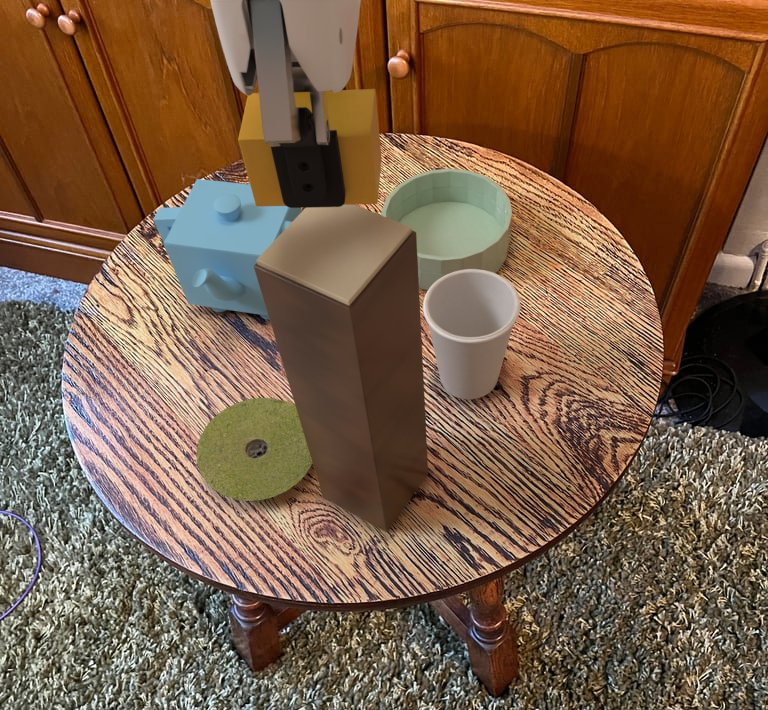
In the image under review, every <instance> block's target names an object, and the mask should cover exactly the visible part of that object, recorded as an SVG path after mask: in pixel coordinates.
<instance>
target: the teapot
mask: <svg viewBox="0 0 768 710" xmlns="http://www.w3.org/2000/svg"><path fill="white" fill-rule="evenodd" d="M302 211H303V210H302V208H289V207H287V206H256V205H255V201H254V197H253V193H252V190H251V186H250V182H249V181H248V183H239V182H229V181H221V180H211V179H201V178H198V179H197V178H196V180H195V182H194V184H193V186H192V188H191V190H190V191H189V193H188V195H187V197H186V198H185V201H184V203H183V204H182V206H177V207H176V206H171V207H170V206H169V207H159V208H158V210H157V211H156V213H155V214H154V215H155V216H154V217H153V218H152V219H153V220H152V221H153V223H154V226H155V228H156V230H157V232H158V234H159V236H160V238H161V241H162V243H163V246H164V250H165V251H166V254H167V256H168V259H169V261H170V263H171V265H172V269H173V270H174V273H175V275H176V277H177V280H178V283H179V285H180V287H181V290H182V292H183V294H184V296H185V299H186V301H187V303H188V305H192V306H200V307H205V308H210V309H211V311H213V312H216V313H223V312H226V311H234V312H240V313H246V314H247V313H248V314H254V315H259V316H260V317H261V319H264V320H270V319H269V316H268V313H267V310H266V306H265V303H264V300H263V296H262V293H261V290H260V286H259V283H258V280H257V276H256V273H255V270H254V265H255V264H256V263H257V259H258V258H259V257H260V255H261V254H262V253H263V252H264V251H265V250H266V249H267V248H268V247H269V246H270V245H271V244H272V243H273V242H274V241H275V240H276V239H277V238H278V236H279V235H280V234H281V233H282V232H283V231H284V230H285V229H286V228H287V227H288V226H289V225H290V224H291V223H292V222H293V221H294V220H295V219H296V217H297V216H298V215H299V214H300V213H301V212H302Z"/></svg>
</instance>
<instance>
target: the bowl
mask: <svg viewBox="0 0 768 710" xmlns="http://www.w3.org/2000/svg"><path fill="white" fill-rule="evenodd" d="M380 215H382V216H384V217H387V218H389V219H392V220H394V221H397V222H399V223H402V224H404V225H407V226H409V227H411V228H412V231H415V232H416V237H417V257H418V277H419V289H421V290H424V291H428V290H429V288H430V287H431V286H432V285H433V284H434V283H435V282H436V281H437V280H439V279H440V278H442V277H443V276H445V275H447V274H449V273H452V272H455V271H459V270H465V269H480V270H486V271H490V272H493V273H495V274H497V272H499V270H501V268H502V266H503V265H504V264H505V261H506V259H507V257H508V254H509V250H510V249H509V248H510V243H511V235H512V223H513V208H512V203H511V199H510V197H509V195H508V194H507V193H506V192H505V190H504V189H503V187H502V186H501V185H500V184H498V183H497V182H495V181H494V180H493V179H491V178H490V177H488V176H487V175H483V174H481V173H478V172H475V171H472V170H469V169H468V170H467V169H461V168H460V169H459V168H452V167H451V168H450V167H449V168H440V169H430V170H427V171H424V172H422V173H418V174H415V175H413V176H411V177H409V178H408V179H406V180H404V181H403V182H401V183H400V184H397V185H396V187H395V188H393V190H392V191H391V192H390V193H389V195H388V196H387V197H386V199H385V201H384V204H383V206H382V209H381V213H380Z"/></svg>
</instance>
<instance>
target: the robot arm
mask: <svg viewBox="0 0 768 710" xmlns="http://www.w3.org/2000/svg"><path fill="white" fill-rule="evenodd" d="M209 1H210V5H211V10H212V14H213V18H214V23H215V26H216V28H217V29H216V30H217V34H218V38H219V42H220V44H221V48H222V52H223V55H224V58H225V61H226V65H227V67H228V71H229V74H230V77H231V78H232V82H233V83H234V86H236V88H237V89H238V91H240V92H242V93H243V94H244V95H245V96H247V97H248V96H249V95H251V94H252V93H254V91H255V87H256V83H257V88H258V89H257V90H258V93H259V99H260V109H261V119H262V129H263V136H264V141H265V143H266V144H270V146H271V150H272V155H273V159H274V164H275V168H276V172H277V177H278V181H279V185H280V190H281V194H282V199H283V202H284V204H285V205H286V206H287V207H289V208H301V209H305V208H312V207H341V206H343V205H344V203H345V196H346V193H345V186H344V179H343V171H342V164H341V157H340V150H339V143H338V136H337V130H330V125H329V117H328V108H327V100H326V92H325V91H332V92H333V93H338V92H340V91H341V90H347V84H348V83H349V81H350V79H351V76H352V71H353V65H354V59H355V51H356V45H357V43H356V42H357V37H358V29H359V28H358V27H359V21H360V20H359V19H360V13H361V11H360V10H361V3H362V0H209ZM294 92H310V99H311V107H312V112H311V111H310V110H309V109H308V108H307V107H296V105H295V99H294Z"/></svg>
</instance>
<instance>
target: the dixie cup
mask: <svg viewBox="0 0 768 710" xmlns="http://www.w3.org/2000/svg"><path fill="white" fill-rule="evenodd" d="M422 312H423V316H424V319H425V321H426V323H427V325H428V328H429V333H430V337H431V341H432V347H433V352H434V356H435V361H436V365H437V370H438V375H439V379H440V383H441V385H442V388H444V390H445V391H446V392H447V393H448V394H449V395H451V396H453V397H455V398H457V399H461V400H477V399H480V398H483V397H485V396H486V395H487V396H488V394H489V393H491V392H492V391H493V390H494V389H495V387H496V385H498V380H499V377H500V374H501V370H502V366H503V363H504V359H505V356H506V353H507V349H508V345H509V342H510V339H511V334H512V332H513V329H514V325H515V323H517V320H518V318H519V316H520V312H521V300H520V296H519V293H518V290H517V289H516V287H514V285H513V284H512V283H511V282H510V281H509V280H508V279H506V278H504V277H503V276H502V275H500V274H498V273H493V272H490V271H486V270H480V269H465V270H459V271H455V272H452V273H449V274H447V275H445V276H443V277H442V278H440V279H439V280H437V281H436V282H435V283H434V284H433V285H432V286H431V287H430V288H429V290H426V293H425V295H424V298H423V303H422Z"/></svg>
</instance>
